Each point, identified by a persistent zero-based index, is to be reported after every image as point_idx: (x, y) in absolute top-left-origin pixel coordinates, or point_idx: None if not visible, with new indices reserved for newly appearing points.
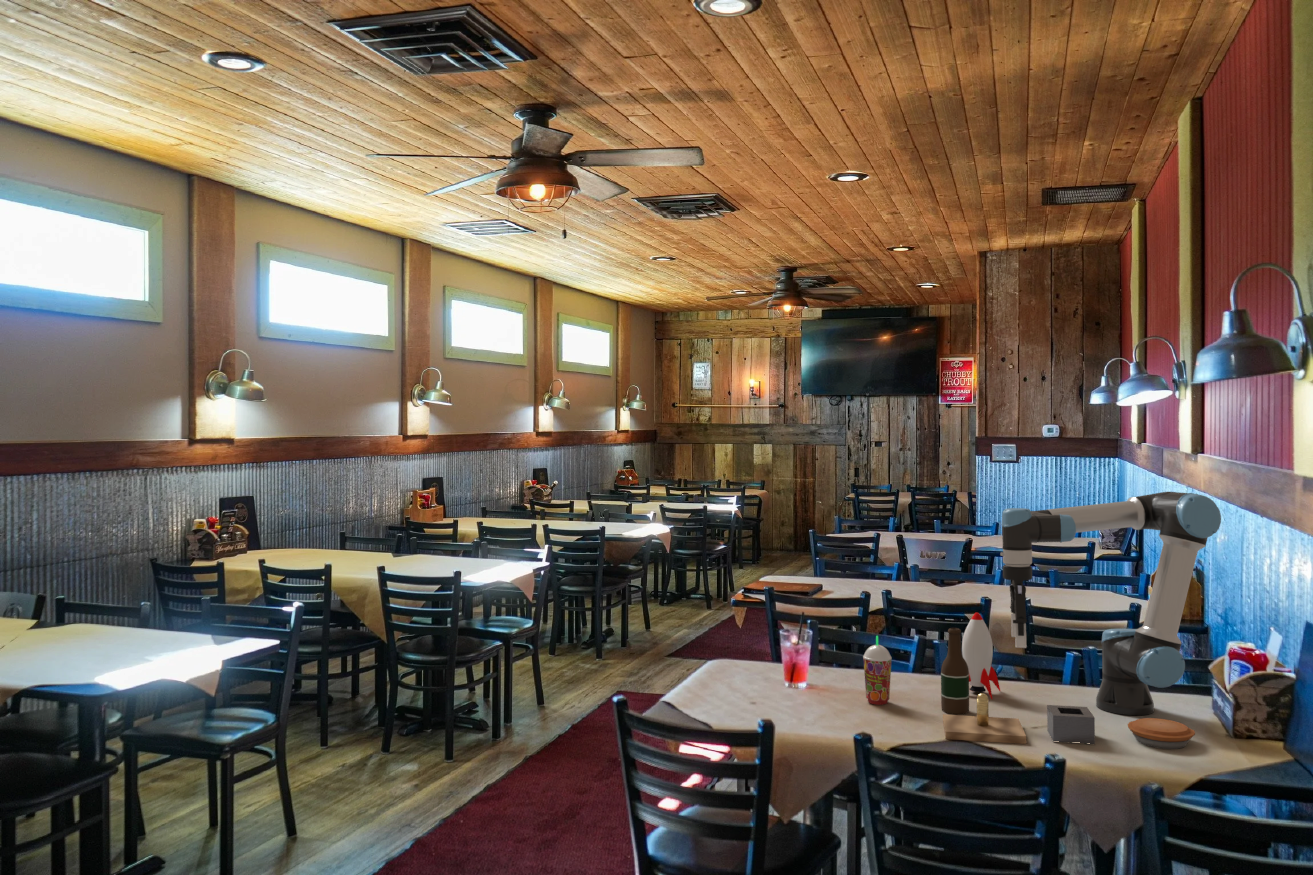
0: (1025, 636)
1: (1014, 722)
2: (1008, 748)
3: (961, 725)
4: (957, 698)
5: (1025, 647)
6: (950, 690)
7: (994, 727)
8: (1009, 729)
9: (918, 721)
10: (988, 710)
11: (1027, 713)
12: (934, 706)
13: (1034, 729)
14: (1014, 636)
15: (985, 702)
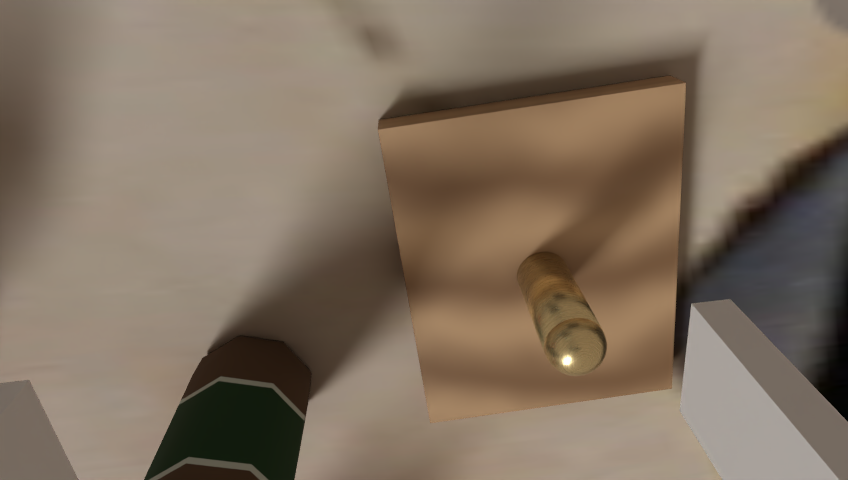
0: (831, 414)
1: (457, 145)
2: (746, 147)
3: None
4: (301, 415)
5: (732, 310)
6: (296, 466)
7: (569, 226)
8: (586, 162)
9: (459, 468)
10: (564, 286)
11: (122, 83)
12: None
13: (414, 41)
14: (62, 460)
15: (598, 322)
